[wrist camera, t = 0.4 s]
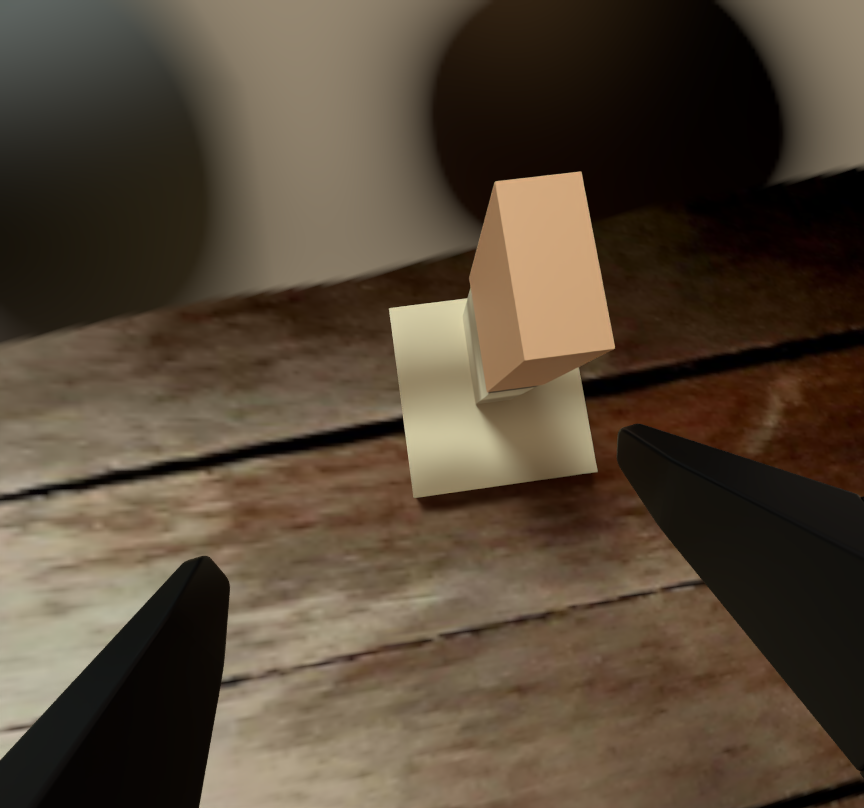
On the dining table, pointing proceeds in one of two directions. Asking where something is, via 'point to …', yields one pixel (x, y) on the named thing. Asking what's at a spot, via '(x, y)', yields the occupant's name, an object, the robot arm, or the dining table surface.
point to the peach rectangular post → (538, 283)
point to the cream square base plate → (479, 410)
